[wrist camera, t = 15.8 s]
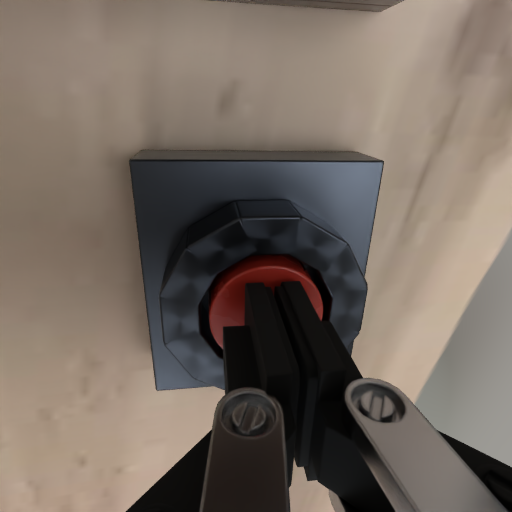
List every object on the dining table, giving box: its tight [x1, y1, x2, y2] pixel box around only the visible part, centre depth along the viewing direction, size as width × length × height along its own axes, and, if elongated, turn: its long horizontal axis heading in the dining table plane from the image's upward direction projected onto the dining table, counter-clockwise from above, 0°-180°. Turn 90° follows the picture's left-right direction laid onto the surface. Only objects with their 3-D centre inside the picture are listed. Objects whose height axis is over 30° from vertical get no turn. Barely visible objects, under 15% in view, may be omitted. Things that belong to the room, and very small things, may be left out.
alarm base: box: [129, 150, 384, 391], centre depth 13 cm, size 9×8×4 cm
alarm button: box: [209, 255, 323, 349], centre depth 12 cm, size 4×4×2 cm
